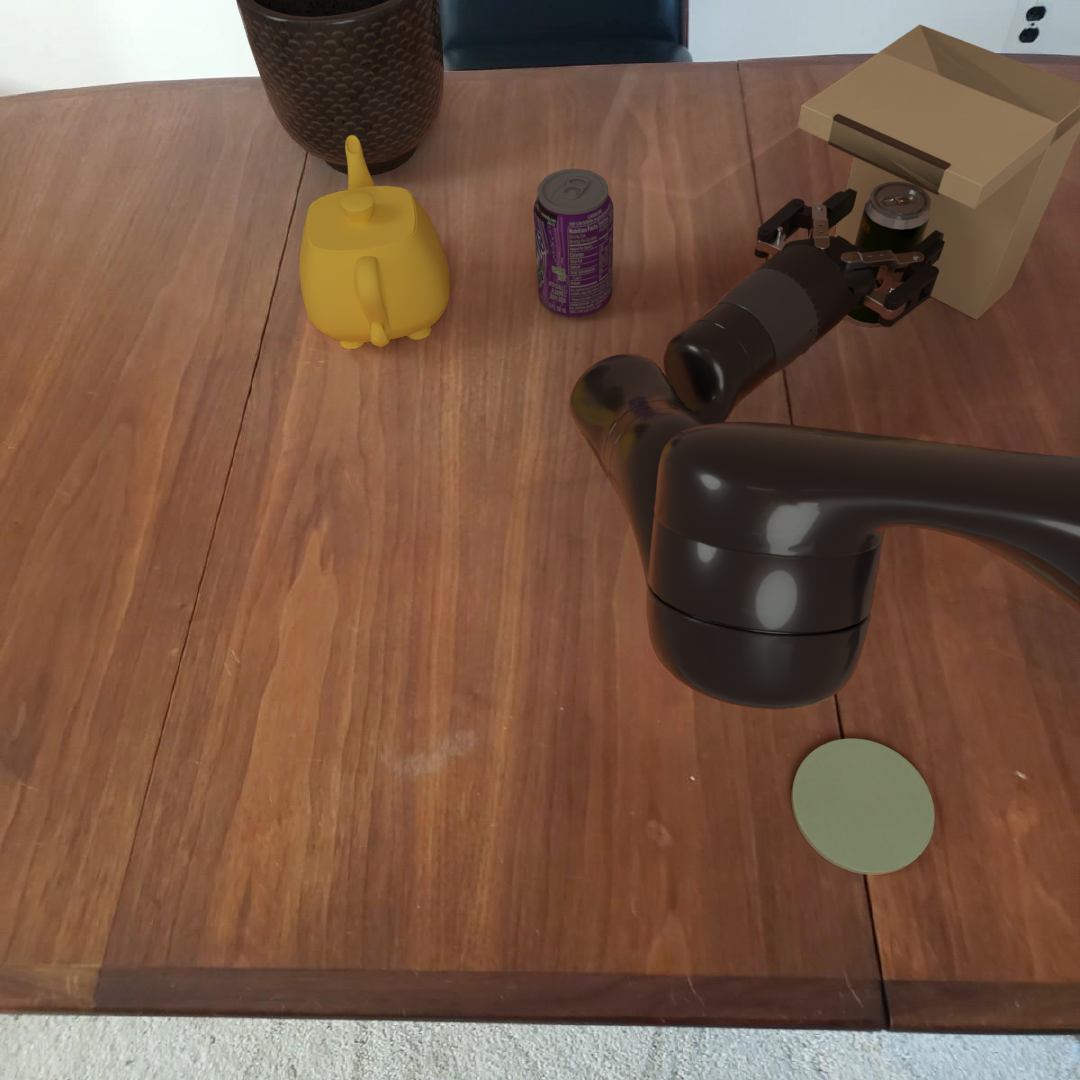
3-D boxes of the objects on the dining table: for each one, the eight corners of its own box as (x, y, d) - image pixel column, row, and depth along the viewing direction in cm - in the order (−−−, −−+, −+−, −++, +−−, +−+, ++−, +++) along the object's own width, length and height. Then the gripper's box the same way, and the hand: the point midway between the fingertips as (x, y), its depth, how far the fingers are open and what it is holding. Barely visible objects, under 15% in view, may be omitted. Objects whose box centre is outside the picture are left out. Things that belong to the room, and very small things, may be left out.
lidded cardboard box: (911, 380, 85) (983, 183, 69) (766, 297, 93) (801, 102, 76) (1033, 268, 93) (1124, 68, 77) (890, 199, 100) (946, 3, 84)
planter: (423, 212, 103) (393, 31, 87) (254, 190, 106) (196, 12, 91) (478, 110, 114) (460, -67, 98) (323, 93, 117) (282, -80, 102)
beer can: (852, 334, 89) (884, 224, 79) (829, 297, 92) (856, 186, 82) (907, 323, 90) (945, 212, 80) (882, 286, 93) (915, 175, 83)
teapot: (314, 386, 88) (277, 274, 78) (310, 249, 100) (277, 135, 90) (463, 364, 89) (446, 250, 79) (442, 231, 101) (424, 116, 90)
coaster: (946, 773, 65) (948, 770, 64) (913, 899, 60) (916, 896, 60) (813, 721, 67) (815, 718, 67) (772, 838, 63) (774, 835, 62)
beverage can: (554, 267, 97) (549, 159, 87) (621, 282, 95) (624, 173, 85) (527, 313, 93) (519, 205, 83) (597, 329, 91) (597, 221, 81)
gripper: (862, 319, 70) (983, 216, 77) (710, 236, 77) (833, 146, 83) (841, 392, 76) (954, 291, 83) (701, 309, 83) (816, 221, 89)
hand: (893, 219), depth 83 cm, fingers open, 8 cm apart
